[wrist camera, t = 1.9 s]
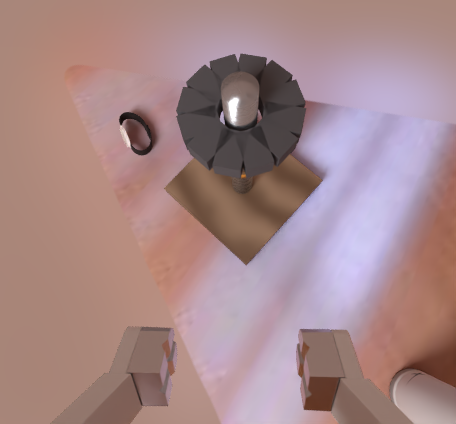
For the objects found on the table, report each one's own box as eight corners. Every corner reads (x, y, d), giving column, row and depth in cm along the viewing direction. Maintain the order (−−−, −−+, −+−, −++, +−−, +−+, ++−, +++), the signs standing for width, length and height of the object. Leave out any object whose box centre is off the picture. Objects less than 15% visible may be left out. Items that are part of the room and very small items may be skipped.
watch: (116, 125, 54) (107, 114, 50) (141, 113, 54) (134, 101, 50) (135, 162, 52) (127, 153, 48) (160, 149, 52) (154, 139, 49)
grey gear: (237, 49, 31) (236, 33, 29) (325, 116, 29) (331, 103, 27) (158, 126, 30) (152, 114, 28) (244, 201, 28) (244, 195, 26)
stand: (239, 119, 52) (238, 112, 51) (319, 184, 49) (322, 180, 47) (167, 192, 50) (163, 188, 48) (246, 265, 47) (246, 264, 45)
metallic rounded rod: (241, 169, 48) (238, 61, 25) (258, 183, 48) (271, 86, 24) (226, 185, 48) (209, 90, 25) (243, 199, 47) (241, 116, 24)
